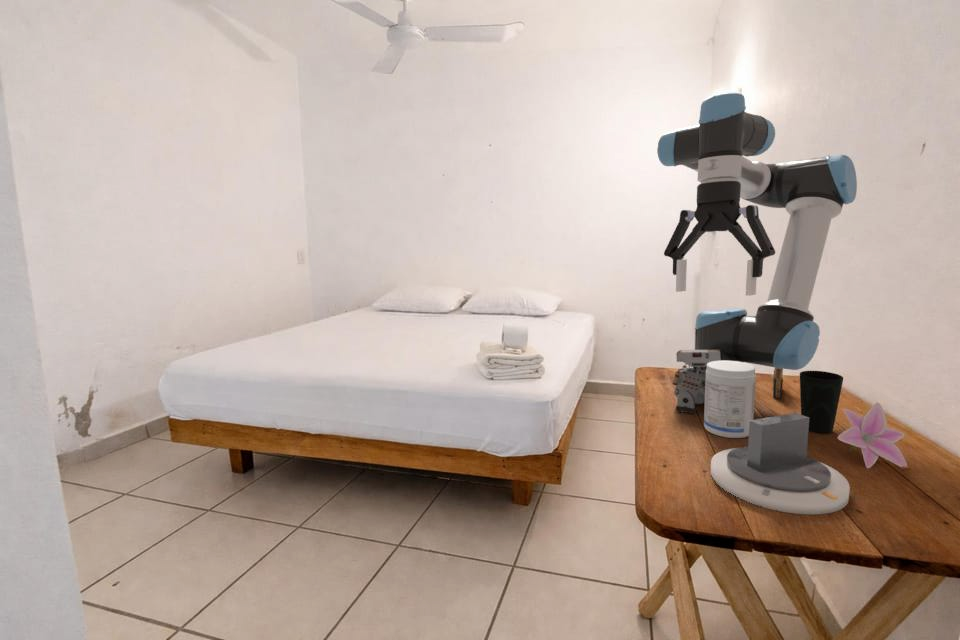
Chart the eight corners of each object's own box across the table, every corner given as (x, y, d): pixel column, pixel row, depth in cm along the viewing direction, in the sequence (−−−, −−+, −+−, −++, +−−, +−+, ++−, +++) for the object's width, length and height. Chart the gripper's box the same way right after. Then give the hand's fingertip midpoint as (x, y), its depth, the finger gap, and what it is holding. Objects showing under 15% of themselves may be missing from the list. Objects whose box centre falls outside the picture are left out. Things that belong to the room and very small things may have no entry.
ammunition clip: (772, 387, 136) (775, 345, 134) (780, 388, 135) (783, 345, 133) (773, 398, 127) (776, 352, 125) (781, 399, 126) (784, 353, 124)
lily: (821, 465, 91) (850, 432, 86) (816, 423, 100) (842, 390, 94) (895, 493, 88) (930, 461, 82) (883, 447, 97) (914, 414, 91)
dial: (707, 458, 88) (709, 410, 87) (772, 446, 92) (775, 400, 91) (780, 499, 74) (784, 442, 72) (853, 482, 78) (858, 428, 77)
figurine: (720, 419, 113) (723, 356, 111) (669, 410, 120) (670, 350, 118) (727, 408, 121) (730, 348, 118) (679, 400, 127) (681, 343, 125)
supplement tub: (721, 420, 113) (724, 357, 110) (762, 433, 104) (766, 366, 102) (693, 429, 108) (696, 364, 106) (734, 443, 100) (737, 373, 98)
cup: (797, 432, 104) (801, 377, 103) (794, 420, 111) (797, 369, 109) (841, 438, 101) (846, 381, 99) (835, 425, 108) (840, 372, 106)
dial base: (726, 448, 97) (726, 438, 97) (851, 476, 85) (853, 464, 84) (696, 488, 82) (696, 476, 82) (844, 529, 70) (845, 515, 69)
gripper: (648, 187, 100) (646, 291, 104) (784, 172, 82) (776, 298, 85) (667, 189, 105) (664, 288, 109) (800, 175, 87) (791, 294, 90)
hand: (713, 293), depth 97 cm, fingers open, 13 cm apart
